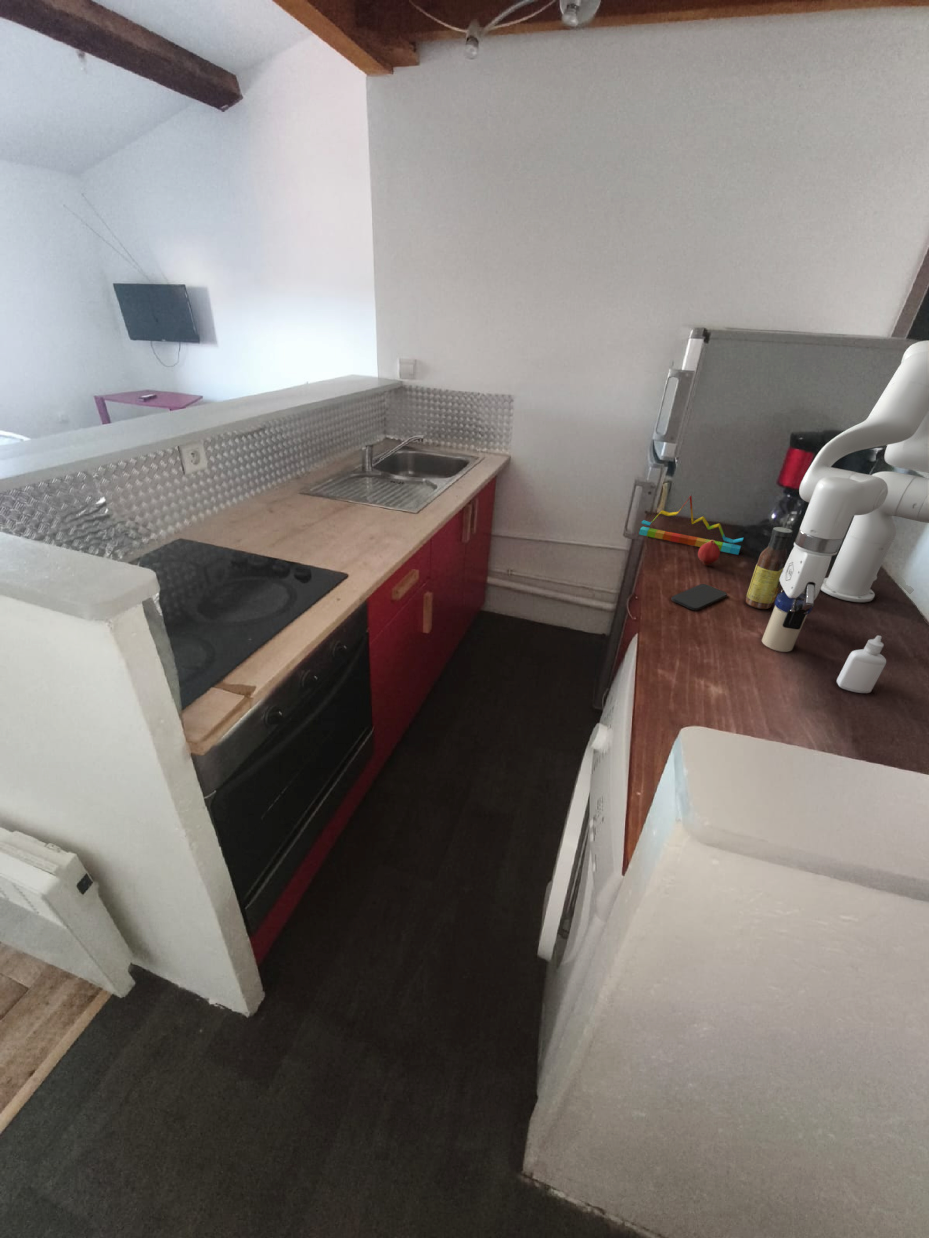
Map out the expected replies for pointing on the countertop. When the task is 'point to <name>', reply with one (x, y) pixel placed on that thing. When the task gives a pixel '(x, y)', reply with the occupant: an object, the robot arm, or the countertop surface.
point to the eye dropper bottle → (863, 668)
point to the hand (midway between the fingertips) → (786, 618)
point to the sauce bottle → (769, 570)
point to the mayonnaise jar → (780, 632)
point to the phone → (699, 597)
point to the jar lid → (787, 602)
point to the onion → (709, 552)
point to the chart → (690, 539)
